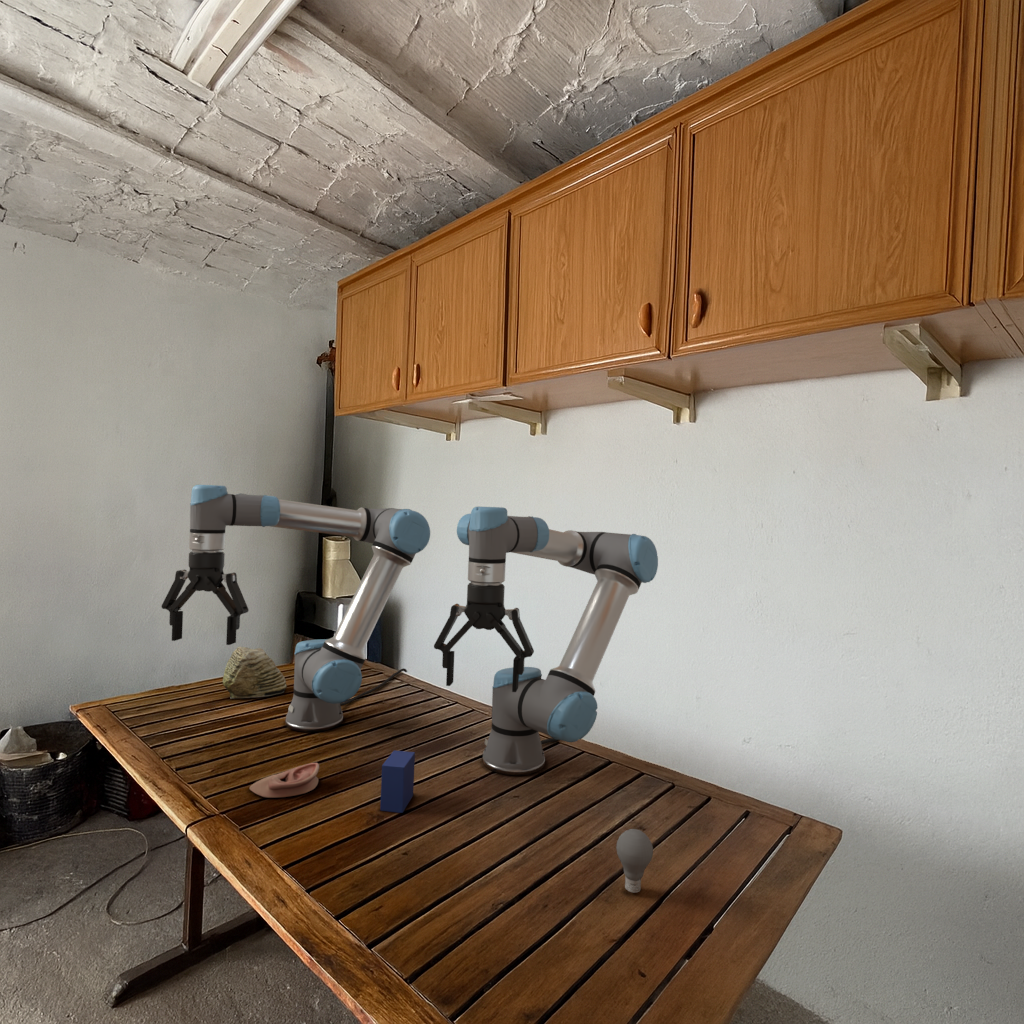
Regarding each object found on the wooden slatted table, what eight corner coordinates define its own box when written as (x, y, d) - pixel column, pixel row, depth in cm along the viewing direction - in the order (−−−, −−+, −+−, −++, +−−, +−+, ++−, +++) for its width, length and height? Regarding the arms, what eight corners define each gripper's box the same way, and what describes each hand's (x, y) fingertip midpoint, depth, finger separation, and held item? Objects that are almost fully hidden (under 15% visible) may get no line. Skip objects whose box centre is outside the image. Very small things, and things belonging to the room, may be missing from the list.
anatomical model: (241, 775, 133) (272, 754, 144) (240, 794, 133) (272, 771, 144) (299, 783, 130) (326, 761, 142) (298, 802, 130) (325, 779, 142)
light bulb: (610, 879, 108) (613, 822, 108) (644, 879, 109) (647, 822, 109) (619, 902, 102) (622, 840, 102) (655, 901, 103) (658, 840, 103)
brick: (380, 810, 129) (381, 765, 129) (392, 793, 137) (393, 750, 137) (402, 813, 128) (404, 767, 128) (413, 795, 136) (415, 752, 136)
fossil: (218, 695, 195) (220, 647, 195) (278, 685, 208) (279, 640, 207) (228, 703, 189) (230, 653, 188) (289, 692, 201) (290, 645, 201)
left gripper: (146, 549, 145) (143, 641, 146) (248, 555, 142) (245, 649, 143) (168, 547, 153) (165, 634, 153) (265, 552, 150) (262, 641, 150)
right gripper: (421, 581, 126) (417, 686, 127) (545, 589, 122) (540, 698, 123) (432, 576, 134) (428, 676, 134) (549, 584, 130) (545, 687, 130)
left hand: (203, 641), depth 148 cm, fingers open, 13 cm apart
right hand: (482, 687), depth 128 cm, fingers open, 13 cm apart
